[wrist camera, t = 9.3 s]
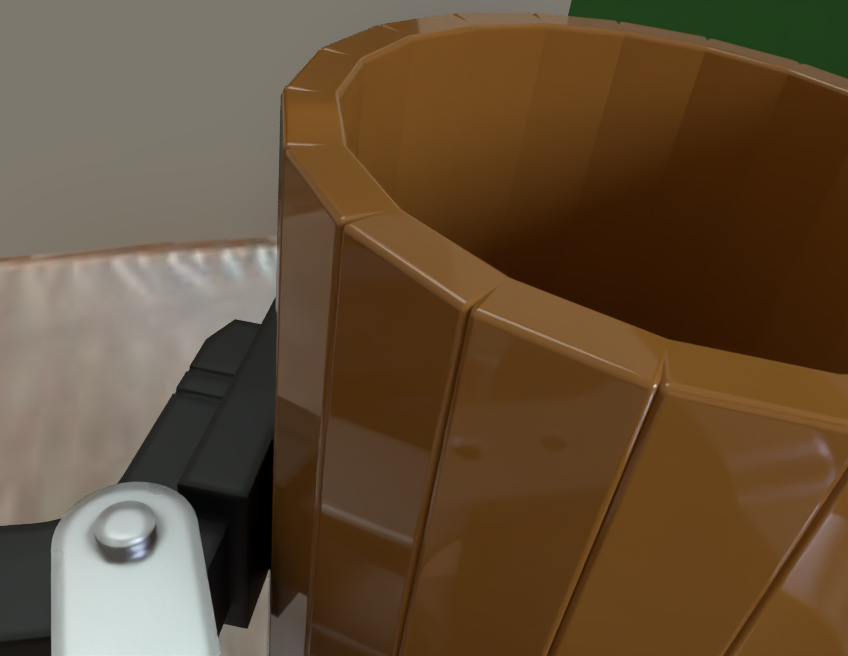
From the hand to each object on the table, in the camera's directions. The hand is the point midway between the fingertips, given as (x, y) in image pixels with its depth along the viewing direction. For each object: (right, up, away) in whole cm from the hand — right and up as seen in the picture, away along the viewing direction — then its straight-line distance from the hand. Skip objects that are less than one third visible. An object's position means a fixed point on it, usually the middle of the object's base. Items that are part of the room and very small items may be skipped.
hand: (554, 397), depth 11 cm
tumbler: (-1, -6, +2) cm, 7 cm away
